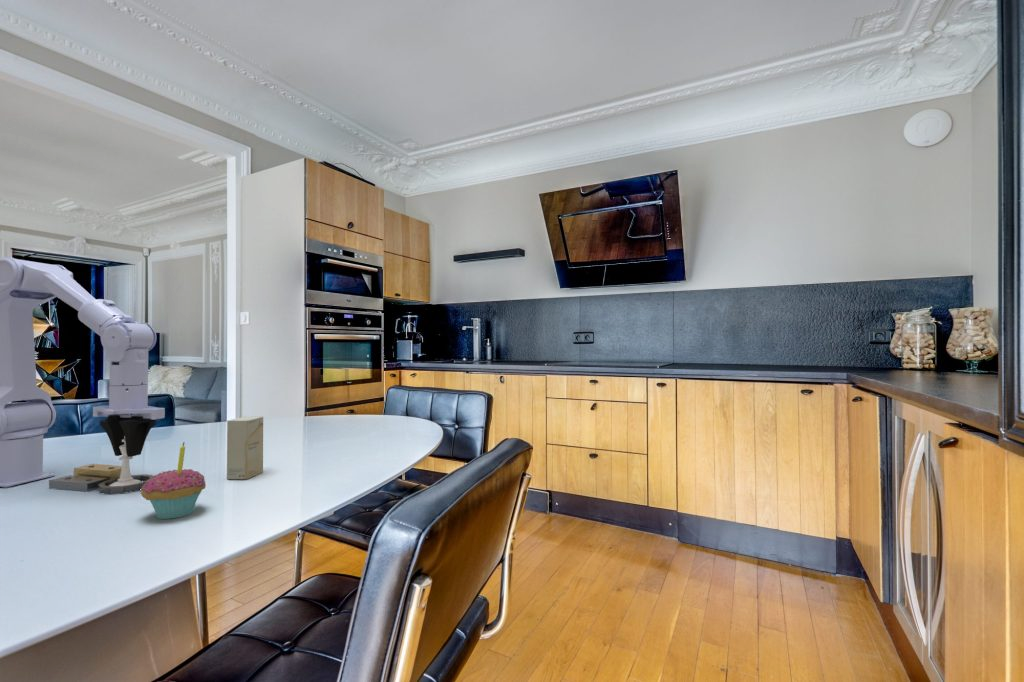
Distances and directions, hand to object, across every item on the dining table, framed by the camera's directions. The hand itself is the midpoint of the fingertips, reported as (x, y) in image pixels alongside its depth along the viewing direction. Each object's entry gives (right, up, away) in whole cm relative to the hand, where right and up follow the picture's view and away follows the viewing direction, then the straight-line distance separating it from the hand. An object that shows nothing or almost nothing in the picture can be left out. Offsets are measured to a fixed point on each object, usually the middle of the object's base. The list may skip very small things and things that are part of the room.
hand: (128, 455), depth 88 cm
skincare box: (+18, -7, +8) cm, 21 cm away
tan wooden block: (-9, -6, +4) cm, 11 cm away
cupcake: (+19, -7, -13) cm, 24 cm away
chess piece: (0, -6, 0) cm, 6 cm away
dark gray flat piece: (-5, -6, +1) cm, 8 cm away
